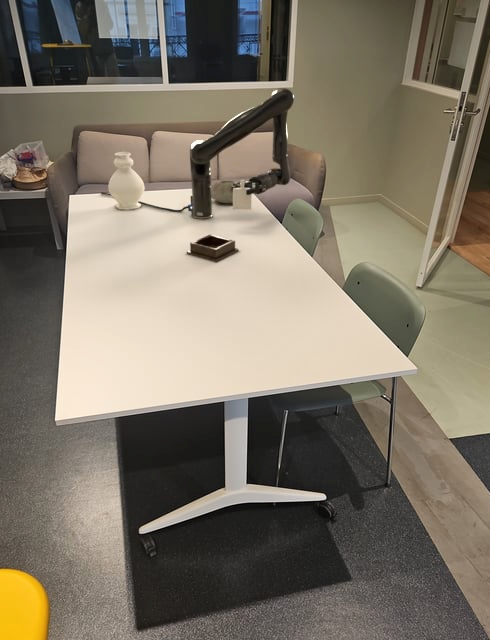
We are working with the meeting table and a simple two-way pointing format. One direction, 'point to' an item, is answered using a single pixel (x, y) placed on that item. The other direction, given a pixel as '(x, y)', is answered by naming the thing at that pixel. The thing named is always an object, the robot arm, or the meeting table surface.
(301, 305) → the meeting table surface
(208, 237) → the bottle stand
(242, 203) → the perfume bottle
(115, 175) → the decorative vase
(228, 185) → the decorative shell
